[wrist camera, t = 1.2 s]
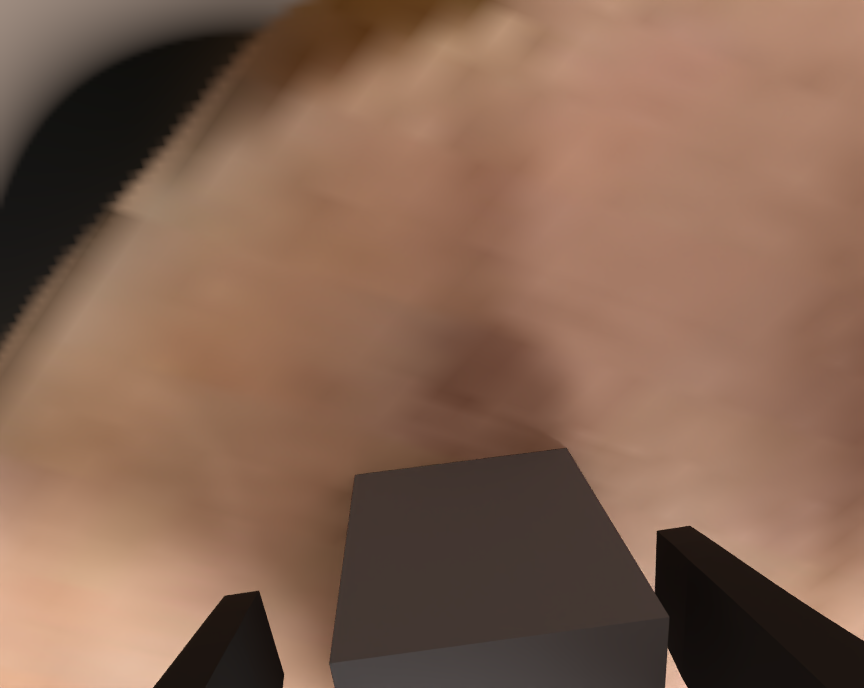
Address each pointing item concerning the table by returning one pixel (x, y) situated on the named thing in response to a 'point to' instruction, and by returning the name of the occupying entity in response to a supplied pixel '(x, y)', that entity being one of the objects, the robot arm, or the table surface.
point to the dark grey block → (492, 582)
